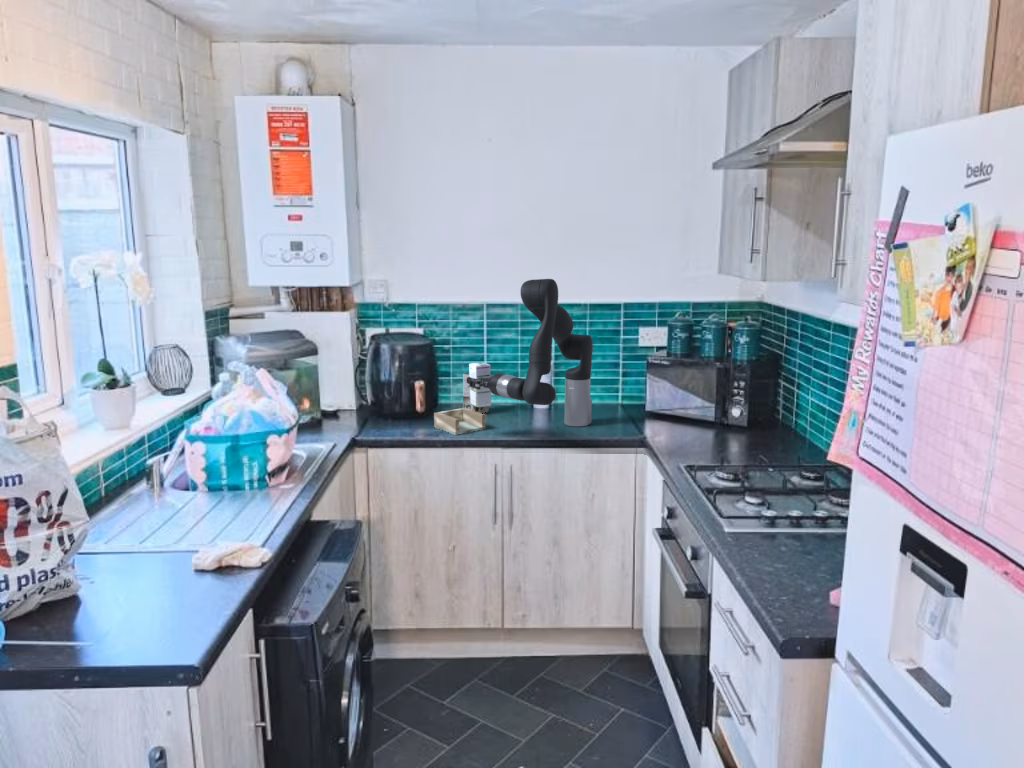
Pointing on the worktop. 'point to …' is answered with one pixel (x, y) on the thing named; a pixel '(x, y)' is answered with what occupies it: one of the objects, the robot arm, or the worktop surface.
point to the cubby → (459, 421)
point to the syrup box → (480, 395)
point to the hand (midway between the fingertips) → (476, 378)
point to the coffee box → (467, 397)
